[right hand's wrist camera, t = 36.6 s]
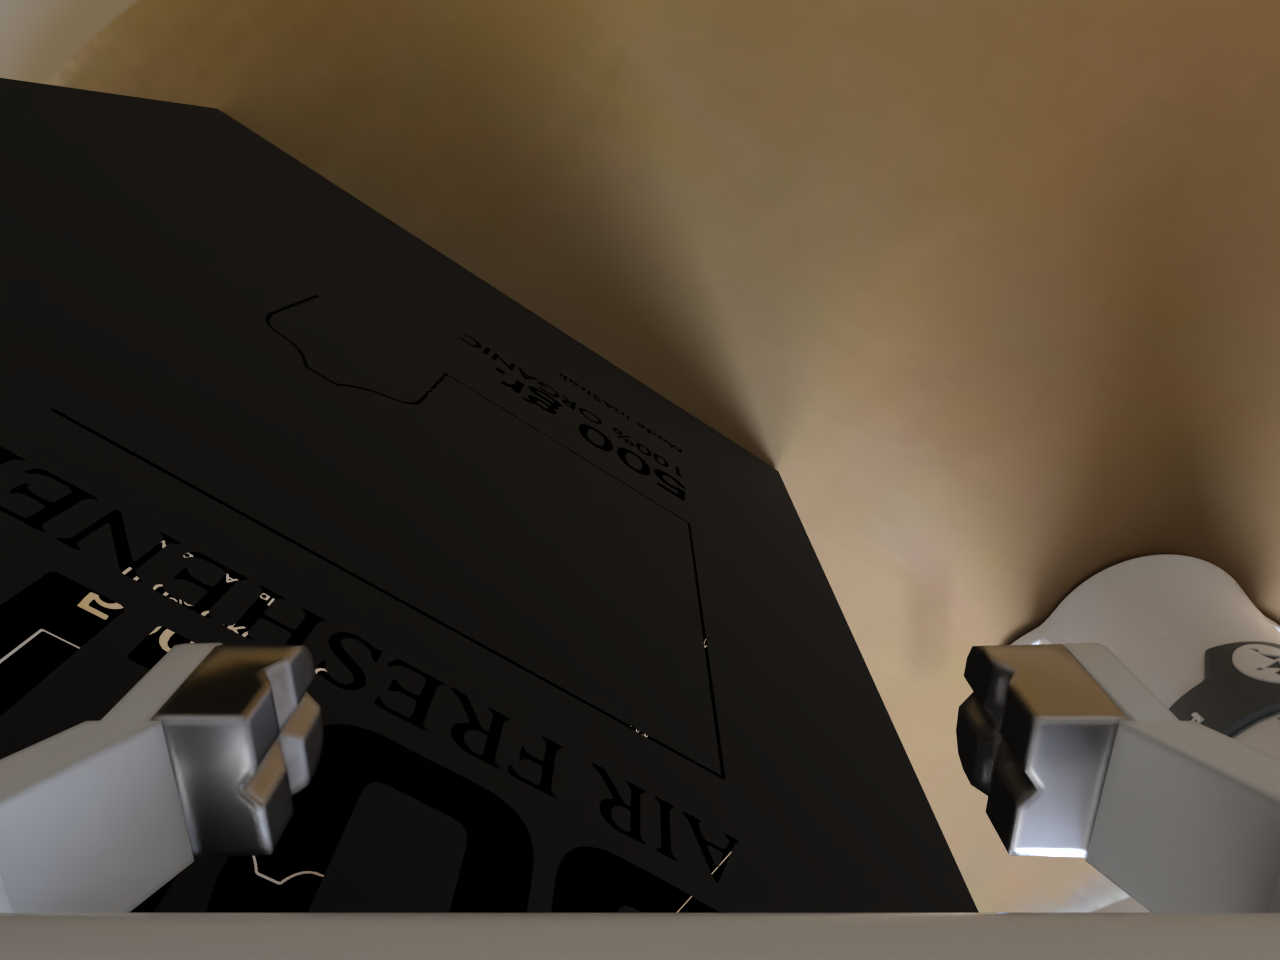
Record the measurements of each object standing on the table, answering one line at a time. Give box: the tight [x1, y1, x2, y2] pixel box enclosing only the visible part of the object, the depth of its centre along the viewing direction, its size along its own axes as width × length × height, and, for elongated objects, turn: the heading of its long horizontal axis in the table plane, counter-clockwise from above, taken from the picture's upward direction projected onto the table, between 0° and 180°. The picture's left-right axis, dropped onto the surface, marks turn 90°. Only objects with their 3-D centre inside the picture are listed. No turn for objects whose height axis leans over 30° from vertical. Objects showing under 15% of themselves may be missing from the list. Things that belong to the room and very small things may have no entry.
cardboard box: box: [0, 78, 979, 913], centre depth 30 cm, size 38×20×45 cm, turn 57°
